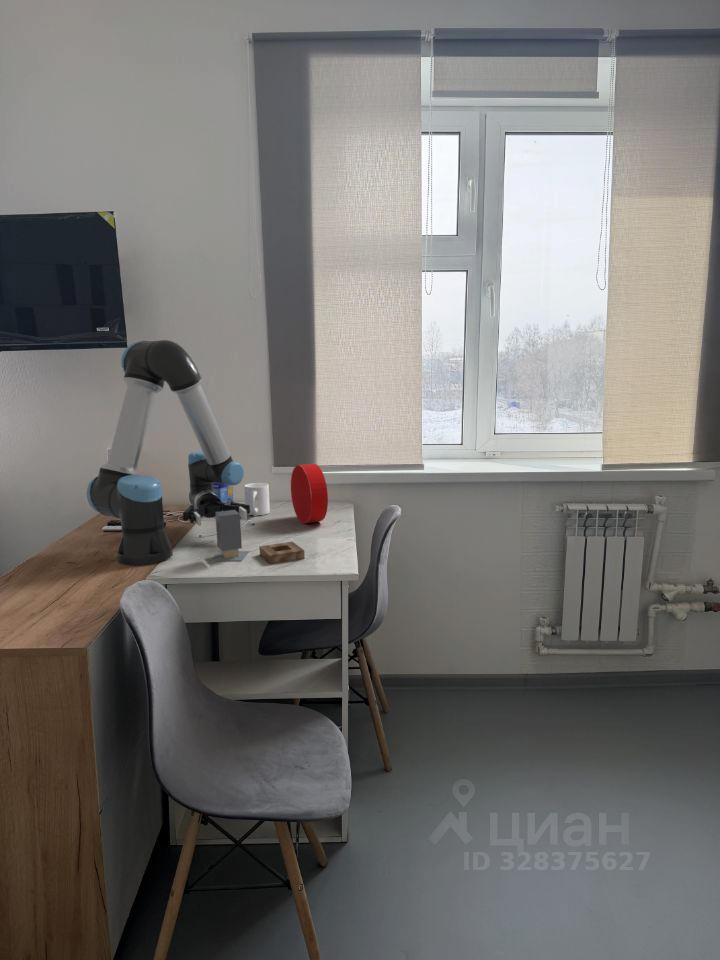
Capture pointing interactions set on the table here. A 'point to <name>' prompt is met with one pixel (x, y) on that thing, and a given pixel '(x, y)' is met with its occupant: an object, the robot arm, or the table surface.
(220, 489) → the ink cartridge box
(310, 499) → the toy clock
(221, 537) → the plug
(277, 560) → the socket block
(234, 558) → the mat
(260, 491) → the mug
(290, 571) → the table surface
